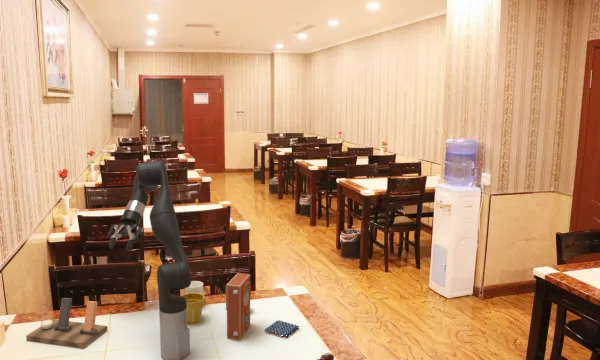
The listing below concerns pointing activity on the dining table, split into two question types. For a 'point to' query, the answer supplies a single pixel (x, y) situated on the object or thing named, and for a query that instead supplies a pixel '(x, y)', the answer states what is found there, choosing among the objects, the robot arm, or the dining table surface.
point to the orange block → (90, 316)
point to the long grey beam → (64, 313)
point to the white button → (46, 324)
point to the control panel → (238, 306)
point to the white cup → (195, 287)
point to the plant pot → (194, 306)
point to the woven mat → (281, 328)
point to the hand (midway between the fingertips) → (119, 248)
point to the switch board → (67, 335)
